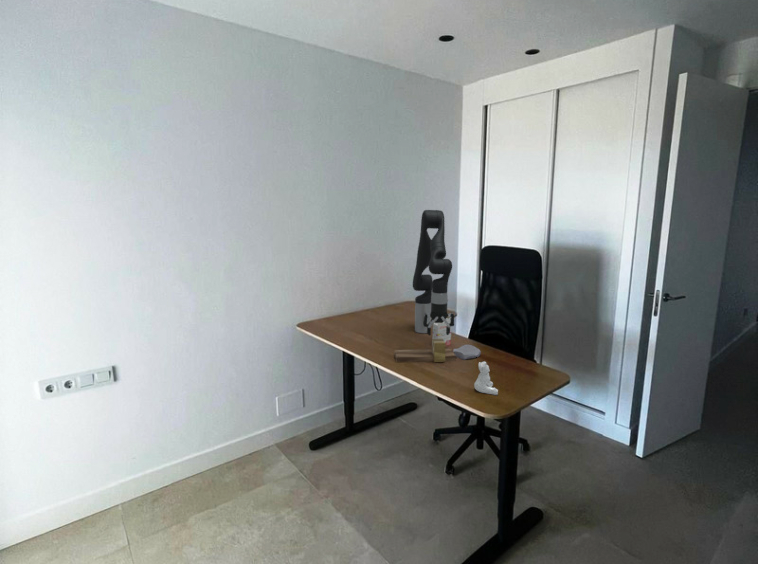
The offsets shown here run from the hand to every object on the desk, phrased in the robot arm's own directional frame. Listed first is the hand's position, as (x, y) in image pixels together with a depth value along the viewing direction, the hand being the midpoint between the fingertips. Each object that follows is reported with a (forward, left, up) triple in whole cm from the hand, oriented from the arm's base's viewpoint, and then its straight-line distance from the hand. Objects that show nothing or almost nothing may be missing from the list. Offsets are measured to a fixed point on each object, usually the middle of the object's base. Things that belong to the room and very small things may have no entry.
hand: (438, 334), depth 199 cm
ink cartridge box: (-20, +6, -13) cm, 25 cm away
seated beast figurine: (+35, +12, -13) cm, 39 cm away
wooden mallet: (-3, 0, -12) cm, 12 cm away
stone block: (-4, +15, -13) cm, 20 cm away
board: (-2, -6, -12) cm, 14 cm away
